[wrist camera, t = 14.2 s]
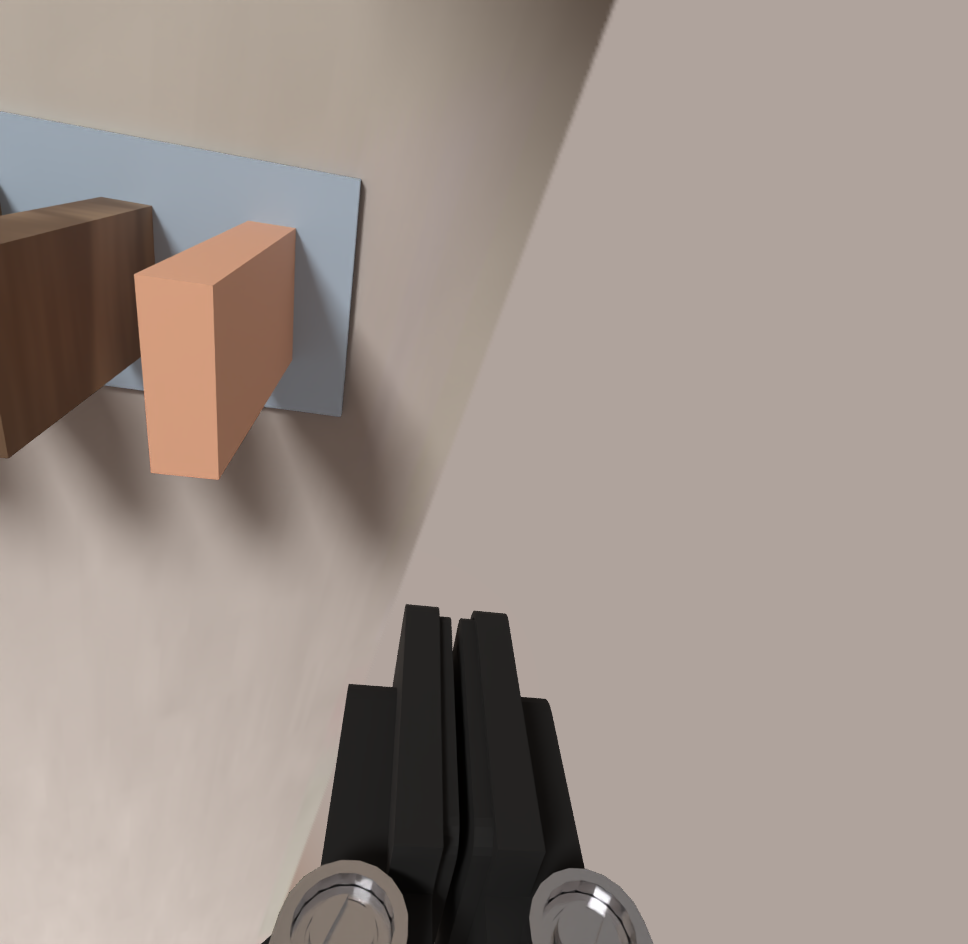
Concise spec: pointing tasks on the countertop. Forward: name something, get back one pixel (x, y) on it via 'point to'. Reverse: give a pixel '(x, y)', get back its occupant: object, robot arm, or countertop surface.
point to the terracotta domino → (214, 344)
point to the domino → (66, 308)
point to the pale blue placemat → (208, 225)
